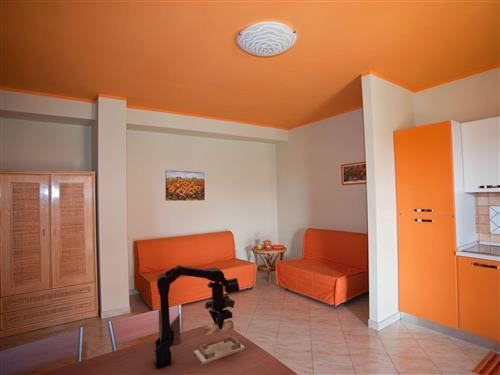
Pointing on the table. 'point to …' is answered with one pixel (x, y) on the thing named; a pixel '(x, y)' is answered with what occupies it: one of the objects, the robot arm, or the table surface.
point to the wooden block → (176, 325)
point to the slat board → (218, 349)
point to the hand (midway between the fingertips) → (218, 327)
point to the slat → (218, 327)
